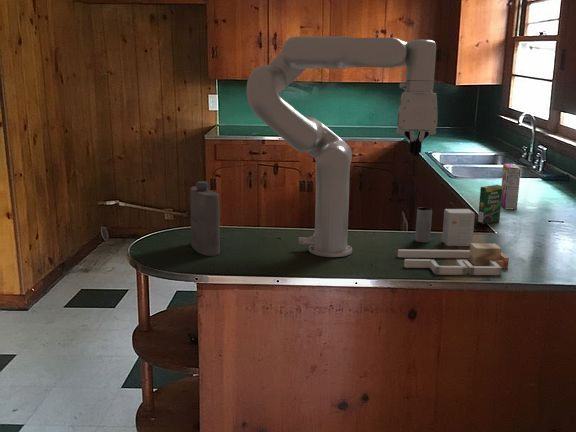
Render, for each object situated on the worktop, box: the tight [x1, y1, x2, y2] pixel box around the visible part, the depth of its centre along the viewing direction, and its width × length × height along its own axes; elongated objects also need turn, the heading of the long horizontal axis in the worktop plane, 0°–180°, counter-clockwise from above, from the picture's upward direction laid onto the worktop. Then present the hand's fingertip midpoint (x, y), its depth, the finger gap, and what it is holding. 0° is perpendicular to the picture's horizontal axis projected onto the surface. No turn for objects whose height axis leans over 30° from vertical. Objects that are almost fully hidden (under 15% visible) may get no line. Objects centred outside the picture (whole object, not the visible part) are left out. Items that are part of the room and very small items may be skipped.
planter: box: [414, 206, 433, 243], centre depth 192 cm, size 4×4×10 cm
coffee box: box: [477, 184, 502, 225], centre depth 217 cm, size 8×3×13 cm, turn 116°
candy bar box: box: [500, 163, 522, 210], centre depth 243 cm, size 11×5×16 cm, turn 171°
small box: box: [441, 208, 476, 247], centre depth 190 cm, size 8×6×10 cm
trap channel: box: [397, 248, 510, 276], centre depth 169 cm, size 28×16×3 cm, turn 91°
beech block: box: [468, 242, 502, 266], centre depth 172 cm, size 7×5×5 cm
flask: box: [189, 180, 221, 257], centre depth 178 cm, size 15×6×20 cm, turn 26°
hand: (414, 155), depth 170 cm, fingers closed
